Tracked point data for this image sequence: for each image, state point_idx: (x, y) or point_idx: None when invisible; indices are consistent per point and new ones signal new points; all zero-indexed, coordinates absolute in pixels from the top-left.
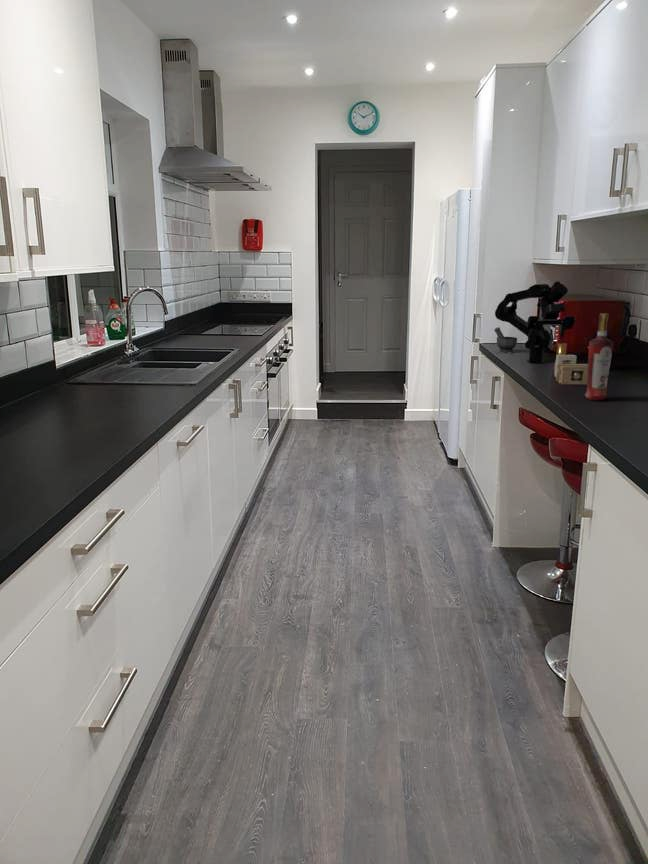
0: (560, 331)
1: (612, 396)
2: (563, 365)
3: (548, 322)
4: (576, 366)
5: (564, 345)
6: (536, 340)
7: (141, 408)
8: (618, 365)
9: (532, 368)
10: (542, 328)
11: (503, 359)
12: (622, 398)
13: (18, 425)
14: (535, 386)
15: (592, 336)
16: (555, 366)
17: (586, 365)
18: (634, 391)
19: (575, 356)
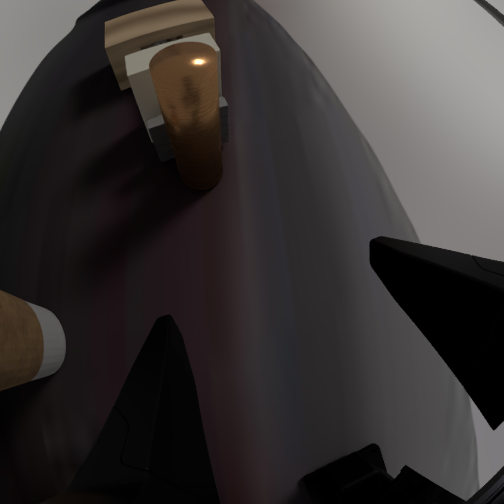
0: (193, 462)
1: (115, 6)
2: (194, 8)
3: (495, 499)
4: (154, 10)
5: (169, 50)
6: (422, 483)
7: (495, 15)
8: (4, 465)
9: (348, 290)
10: (491, 270)
11: (466, 467)
12: (104, 5)
13: (488, 3)
14: (265, 13)
15: None
16: (220, 90)
17: (117, 29)
18: (56, 49)
19: (130, 55)
